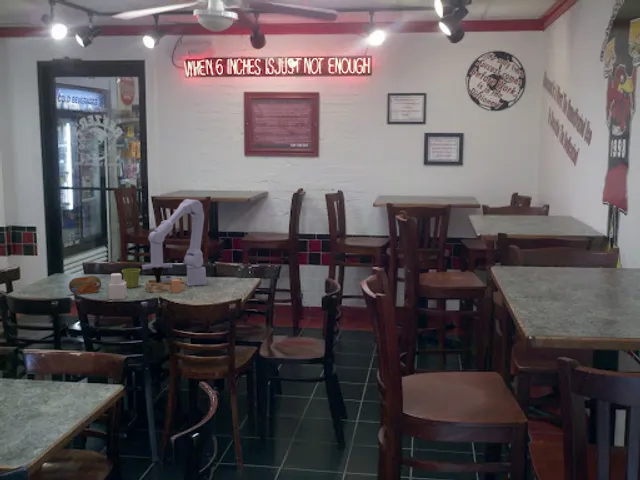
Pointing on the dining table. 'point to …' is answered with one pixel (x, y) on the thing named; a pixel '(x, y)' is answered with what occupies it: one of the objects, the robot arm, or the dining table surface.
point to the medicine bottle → (117, 286)
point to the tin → (84, 285)
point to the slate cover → (167, 279)
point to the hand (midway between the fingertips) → (158, 282)
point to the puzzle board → (161, 286)
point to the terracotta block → (176, 286)
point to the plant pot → (131, 277)
